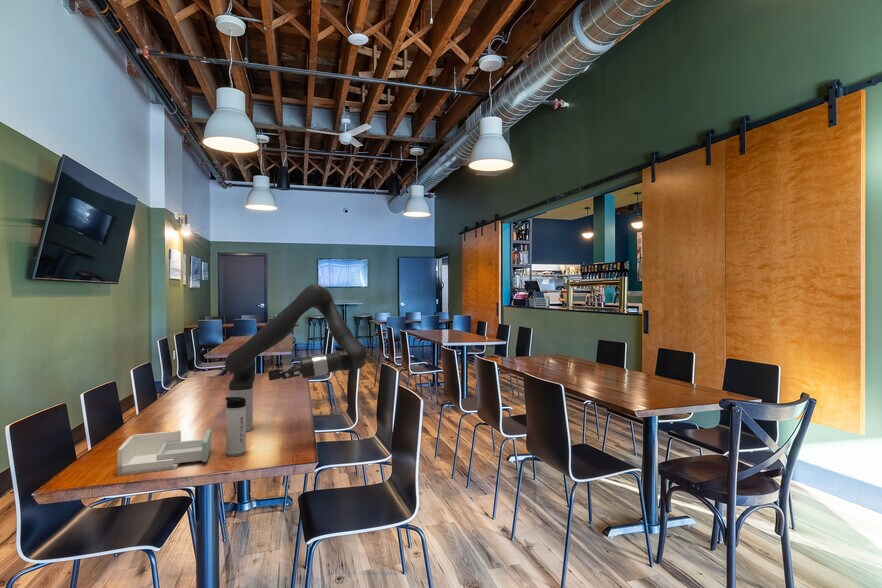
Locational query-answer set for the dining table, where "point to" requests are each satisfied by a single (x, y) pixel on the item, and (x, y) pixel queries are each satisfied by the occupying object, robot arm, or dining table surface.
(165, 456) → the tray
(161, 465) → the dock
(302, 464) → the dining table surface
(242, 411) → the travel mug
